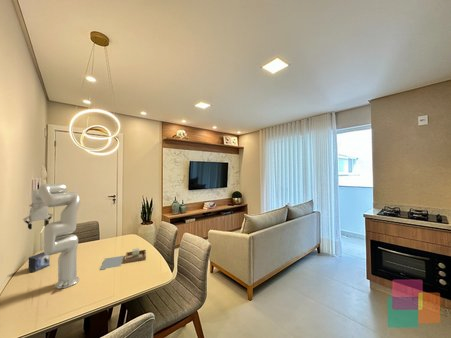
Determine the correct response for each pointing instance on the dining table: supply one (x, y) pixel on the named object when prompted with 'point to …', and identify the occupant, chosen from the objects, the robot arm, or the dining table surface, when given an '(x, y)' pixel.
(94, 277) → the dining table surface
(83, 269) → the dining table surface
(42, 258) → the small box
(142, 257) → the walnut bin
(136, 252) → the sage block
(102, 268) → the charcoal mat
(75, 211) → the robot arm
